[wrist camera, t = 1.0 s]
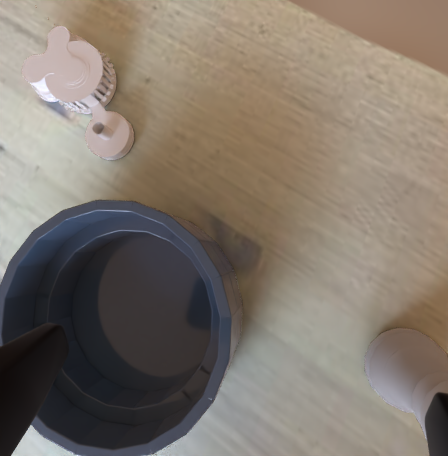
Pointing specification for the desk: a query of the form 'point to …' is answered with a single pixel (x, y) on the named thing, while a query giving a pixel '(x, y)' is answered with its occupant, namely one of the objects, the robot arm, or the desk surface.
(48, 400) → the basin
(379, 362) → the rook chess piece
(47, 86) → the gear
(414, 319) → the desk surface
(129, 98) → the desk surface
